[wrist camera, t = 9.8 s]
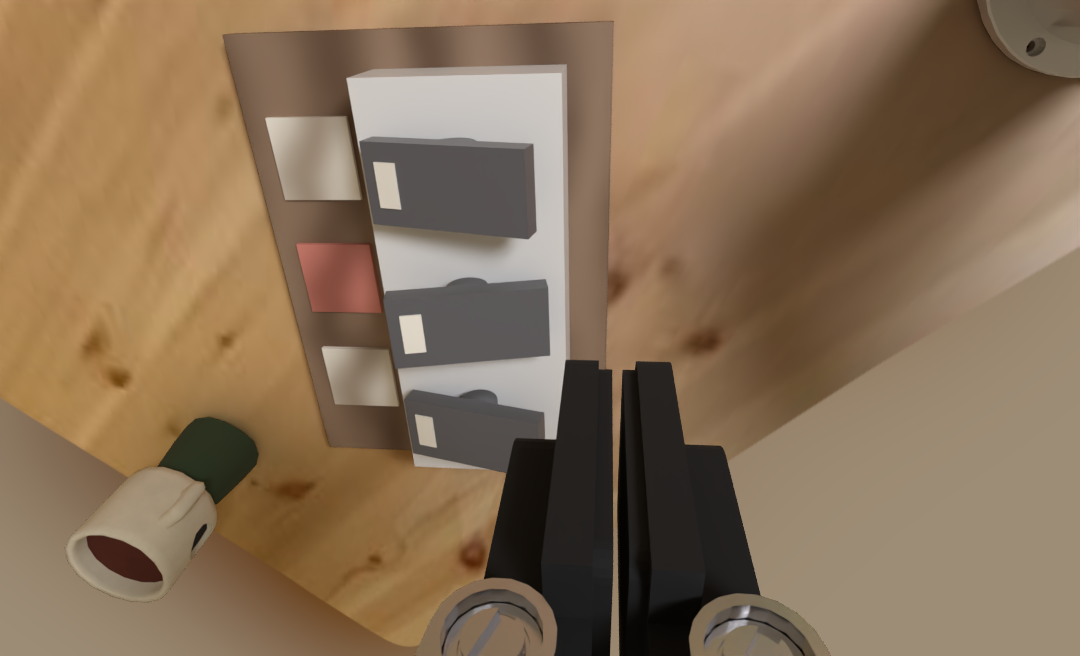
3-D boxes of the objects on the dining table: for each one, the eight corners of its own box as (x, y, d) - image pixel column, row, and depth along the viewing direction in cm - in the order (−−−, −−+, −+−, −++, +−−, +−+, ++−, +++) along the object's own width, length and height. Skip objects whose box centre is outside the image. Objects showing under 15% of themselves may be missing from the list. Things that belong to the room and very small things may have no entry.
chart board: (613, 20, 33) (613, 22, 31) (603, 448, 47) (603, 460, 46) (233, 33, 35) (219, 35, 34) (335, 437, 50) (328, 449, 48)
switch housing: (566, 64, 33) (561, 72, 30) (570, 436, 46) (567, 473, 42) (373, 69, 34) (346, 77, 31) (429, 431, 47) (414, 466, 43)
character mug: (224, 494, 54) (123, 625, 43) (157, 444, 52) (32, 569, 41) (296, 438, 50) (205, 568, 39) (227, 382, 48) (109, 502, 37)
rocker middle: (542, 268, 36) (548, 288, 33) (544, 333, 38) (550, 356, 35) (388, 280, 35) (383, 301, 32) (399, 345, 37) (395, 369, 35)
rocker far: (551, 398, 38) (537, 425, 35) (553, 452, 40) (540, 481, 38) (424, 376, 40) (402, 400, 38) (431, 428, 43) (412, 454, 40)
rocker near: (544, 136, 30) (523, 149, 28) (546, 221, 32) (527, 240, 30) (388, 130, 33) (357, 141, 30) (400, 209, 35) (372, 224, 33)
